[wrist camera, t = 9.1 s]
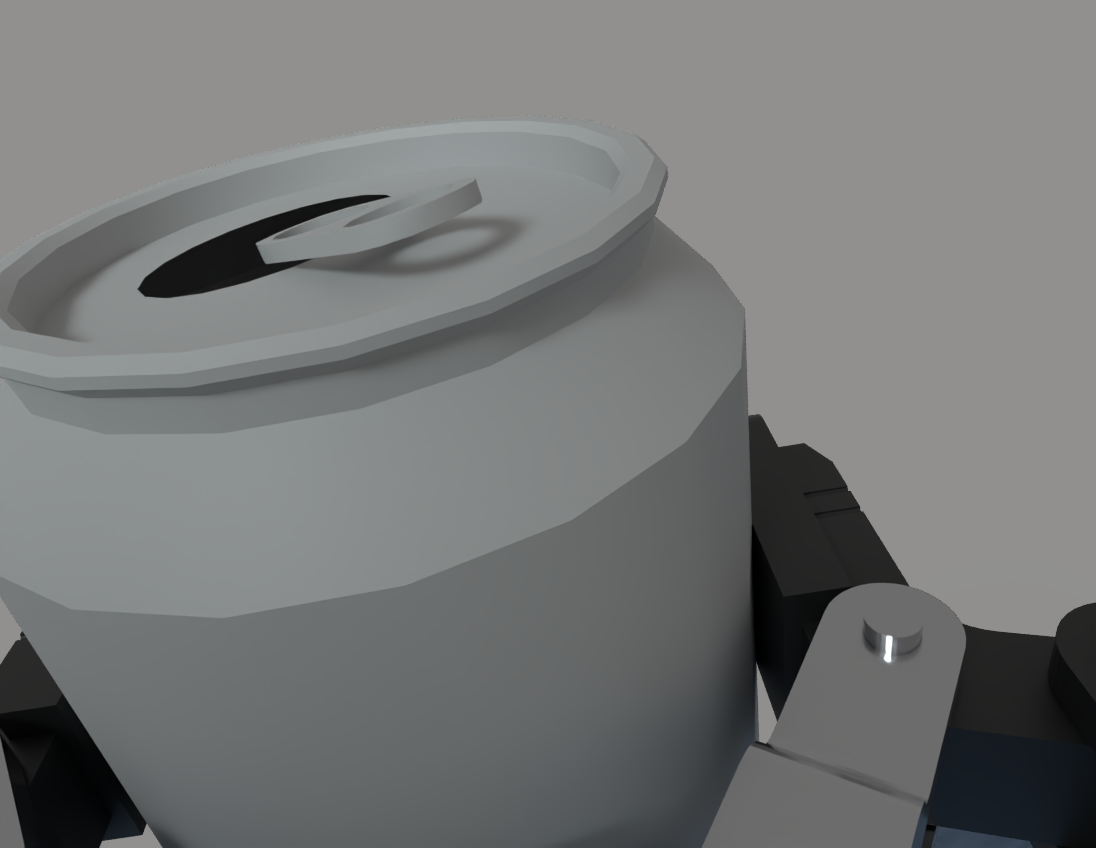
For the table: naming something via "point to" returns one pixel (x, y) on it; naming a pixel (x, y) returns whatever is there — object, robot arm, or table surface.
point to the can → (389, 494)
